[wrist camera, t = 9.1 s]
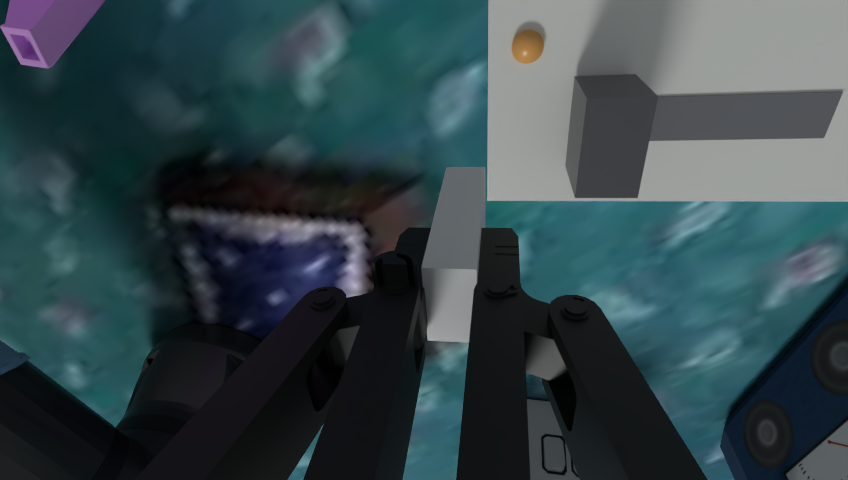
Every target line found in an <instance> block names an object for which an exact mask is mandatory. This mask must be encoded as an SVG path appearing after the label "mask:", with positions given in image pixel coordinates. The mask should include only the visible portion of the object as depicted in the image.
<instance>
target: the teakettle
mask: <svg viewBox="0 0 848 480" xmlns="http://www.w3.org/2000/svg"><path fill="white" fill-rule="evenodd" d="M105 1H106V0H10V2H9V7H8V12H7V16H6V21H5V24H3V25H0V28H1V29H2V31H3V33H4V35H5V37H6V38H7V40H8V42H9V44H10V46H11V48H12V49H13V51H14V53H15V55H16V57H17V58H18V60H19V62H20V64H21V65H28V66H34V67H41V68H50V67H52V66H53V65H54V64H55V63H56V62H57V60H58V59H59V58H60V57H61V55H62V54H63V53H64V52H65V50H66V49H67V48H68V47H69V45H70V44H71V43H72V42H73V40H74V39H75V38H76V37H77V35H78V34H79V33H80V32H81V30H82V29H83V28H84V27H85V25H86V24H87V23H88V22H89V20H90V19H91V18H92V17H93V15H94V14H95V13H96V12H97V10H98V9H99V8H100V7H101V5H102V4H103V3H104V2H105Z"/></svg>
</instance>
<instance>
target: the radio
mask: <svg viewBox="0 0 848 480" xmlns="http://www.w3.org/2000/svg"><path fill="white" fill-rule="evenodd" d="M720 447H721V449H722V452H723V454H724V456H725V459H726V461H727V463H728V465H729V468H730V470H731V472H732V475H733V477H734V479H735V480H848V285H847V286H846V287H845V289H844V290H843V291H842V292H841V293H840V294H839V295H838V296H837V297H836V299H835V300H834V301H833V302H832V303H831V304H830V305H829V306H828V307H827V308H826V310H825V311H824V312H823V313H822V314H821V315H820V316H819V317H818V318H817V320H816V321H815V322H814V323H813V324H812V325H811V326H810V327H809V328H808V330H807V331H806V332H805V333H804V334H803V335H802V336H801V337H800V338H799V339H798V341H797V342H796V343H795V344H794V345H793V346H792V347H791V348H790V349H789V351H788V352H787V353H786V354H785V355H784V356H783V357H782V358H781V359H780V361H779V362H778V363H777V364H776V365H775V366H774V367H773V368H772V369H771V370H770V372H769V373H768V374H767V375H766V376H765V377H764V378H763V379H762V380H761V382H760V383H759V384H758V385H757V386H756V387H755V388H754V389H753V390H752V392H751V393H750V394H749V395H748V396H747V397H746V398H745V399H744V400H743V401H742V403H741V404H740V405H739V406H738V407H737V408H736V409H735V410H734V411H733V413H732V414H731V415H730V416H729V417H728V419H727V422H726V424H725V427H724V431H723V435H722V440H721V445H720Z"/></svg>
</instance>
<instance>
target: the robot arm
mask: <svg viewBox="0 0 848 480" xmlns="http://www.w3.org/2000/svg"><path fill="white" fill-rule="evenodd" d="M370 264H371V270H372V276H373V282H374V289H373V291H371V292H369V293H367V294H363V295H359V296H353V297H348V298H346V294H345V293H344V292H343V291H342V290H341V289H339V288H336V287H322V288H317V289H315V290H313V291H310V292H309V293H308V294H306V295H305V296H304V297H303V298H302V299H301V300H300V301H299V302H298V303H297V304H296V305H295V306H294V307H293V309H292V310H291V311H290V312H289V313H288V314H287V315H286V316H285V317H284V318H283V319H282V320H281V322H280V323H279V324H278V325H277V326H276V327H275V328H274V329H273V330H272V331H271V332H270V333H269V334H268V336H267V337H266V338H265V339H264V340H263V341H262V342H261V341H259V340H257V339H255V338H253V337H251V336H249V335H247V334H245V333H242V332H240V331H237V330H234V329H231V328H227V327H223V326H218V325H211V324H190V325H184V326H181V327H178V328H175V329H173V330H171V331H169V332H168V333H167V334H165V335H164V336H163V337H162V338H161V340H160V341H159V342H158V343H157V344H156V346H155V347H154V348H153V349H152V350H151V352H150V353H149V354H148V356H147V358H146V359H145V362H144V364H143V367H142V372H141V374H140V376H139V379H138V381H137V383H136V386H135V388H134V391H133V394H132V397H131V399H130V402H129V405H128V407H127V410H126V413H125V415H124V417H123V418H122V420H121V421H120V422H119V424H118V425H117V426H116V428H115V427H114V426H113V425H112V424H110V423H109V422H108V421H106V420H105V419H104V418H102V417H101V416H100V415H99V414H97V413H96V412H95V411H93V410H92V409H91V408H89V407H88V406H87V405H85V404H84V403H83V402H81V401H80V400H79V399H78V398H76V397H75V396H74V395H72V394H71V393H70V392H68V391H67V390H66V389H64V388H63V387H62V386H61V385H59V384H58V383H57V382H55V381H54V380H53V379H51V378H50V377H49V376H47V375H46V374H45V373H43V372H42V371H41V370H40V369H38V368H37V367H36V366H34V365H33V364H32V363H30V362H29V361H28V360H29V358H30V357H29V356H28V355H27V354H26V353H18V352H17V351H15V350H14V349H12V348H11V347H9V346H8V345H6V344H5V343H3V342H2V341H0V480H287V479H288V478H289V476H290V475H291V473H292V472H293V470H294V469H295V467H296V465H297V464H298V462H299V461H300V459H301V458H302V456H303V455H304V453H305V452H306V450H307V449H308V447H309V445H310V444H311V442H312V441H313V439H314V438H315V436H316V435H317V433H318V432H319V430H320V429H321V427H322V425H323V424H324V425H323V428H322V430H321V433H320V436H319V438H318V441H317V444H316V447H315V449H314V452H313V455H312V458H311V460H310V463H309V466H308V468H307V471H306V474H305V477H304V479H303V480H402V478H403V473H404V468H405V462H406V457H407V451H408V446H409V441H410V435H411V430H412V424H413V419H414V414H415V408H416V403H417V398H418V392H419V387H420V381H421V376H422V371H423V365H424V360H425V354H426V353H425V336H426V331H427V338H428V340H430V341H448V342H466V343H469V347H468V358H467V369H466V380H465V391H464V402H463V412H462V423H461V434H460V445H459V456H458V467H457V478H456V480H530V458H529V435H528V413H527V390H526V373H528V374H531V375H534V376H537V377H540V378H542V382H543V386H544V388H545V391H546V393H547V396H548V399H549V401H550V404H551V406H552V409H553V412H554V414H555V417H556V419H557V422H558V424H559V427H560V430H561V432H562V435H563V437H564V440H565V443H566V445H567V448H568V450H569V453H570V456H571V458H572V461H573V463H574V466H575V469H576V471H577V474H578V476H579V479H580V480H707V478H706V476H705V475H704V473H703V472H702V470H701V468H700V467H699V465H698V464H697V462H696V460H695V459H694V457H693V456H692V454H691V452H690V451H689V449H688V448H687V446H686V444H685V443H684V441H683V440H682V438H681V436H680V435H679V433H678V432H677V430H676V428H675V427H674V425H673V424H672V422H671V420H670V419H669V417H668V416H667V414H666V413H665V411H664V409H663V408H662V406H661V405H660V403H659V401H658V400H657V398H656V397H655V395H654V393H653V392H652V390H651V389H650V387H649V385H648V384H647V382H646V381H645V379H644V377H643V376H642V374H641V373H640V371H639V369H638V368H637V366H636V365H635V363H634V361H633V360H632V358H631V357H630V355H629V353H628V352H627V350H626V349H625V347H624V345H623V344H622V342H621V341H620V339H619V337H618V336H617V334H616V333H615V331H614V329H613V328H612V326H611V325H610V323H609V321H608V320H607V318H606V317H605V315H604V313H603V312H602V310H601V309H600V307H599V306H598V305H597V304H596V303H595V302H593V301H591V300H590V299H588V298H586V297H582V296H578V295H564V296H560V297H557V298H556V299H554V300H553V301H552V302H551V304H549V303H545V302H541V301H538V300H536V299H534V298H532V297H530V296H528V295H527V294H526V293H525V292H524V291H523V289H522V288H521V284H520V267H519V244H518V236H517V235H516V233H515V232H514V231H513V230H512V228H485V167H446V171H445V175H444V179H443V183H442V187H441V191H440V195H439V199H438V203H437V207H436V211H435V215H434V219H433V223H432V227H431V228H407V229H406V230H405V231H404V232H403V233H402V234H401V235H400V236H399V239H398V242H397V246H396V248H395V251H389V252H386V253H382V254H380V255H379V256H377V257H375V258H374V259H373V261H372V262H371V263H370Z"/></svg>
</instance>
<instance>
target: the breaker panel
mask: <svg viewBox="0 0 848 480" xmlns="http://www.w3.org/2000/svg"><path fill="white" fill-rule="evenodd" d="M625 74H636V75H637V76H638V77H639V78H640V79H641V80H642V81H643V82H644V83H645V84H646V85H647V86H648V87H649V88H650V89H651V90H652V91H653V92H654V93H655V94H657V95H658V100H657V105H656V110H655V115H654V120H653V125H652V130H651V135H650V140H649V145H648V150H647V155H646V160H645V164H644V169H643V174H642V179H641V184H640V189H639V194H638V198H575V197H574V193H573V190H572V187H571V183H570V180H569V177H568V173H567V170H566V167H565V163H566V153H567V144H568V134H569V125H570V115H571V105H572V96H573V86H574V76H597V75H625ZM487 201H824V202H848V0H489V12H488V169H487Z"/></svg>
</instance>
